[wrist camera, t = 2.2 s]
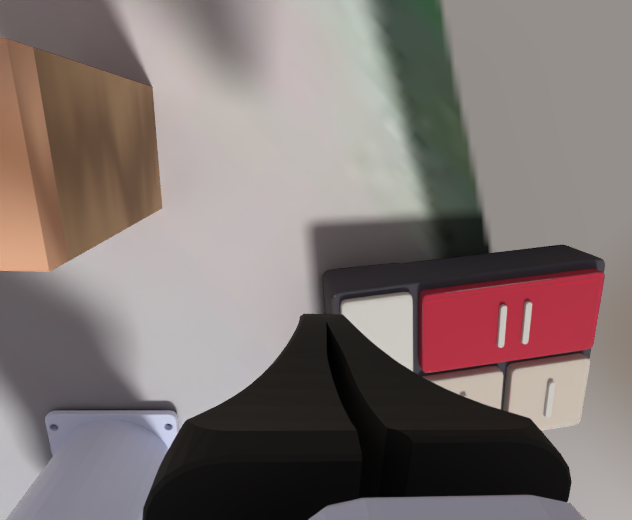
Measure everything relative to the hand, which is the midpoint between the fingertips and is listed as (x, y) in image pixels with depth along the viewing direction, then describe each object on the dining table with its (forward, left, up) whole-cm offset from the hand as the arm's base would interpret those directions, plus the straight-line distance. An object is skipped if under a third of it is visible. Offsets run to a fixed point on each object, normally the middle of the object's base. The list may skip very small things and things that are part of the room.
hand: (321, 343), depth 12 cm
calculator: (-6, -9, -11) cm, 15 cm away
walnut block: (+5, +10, -10) cm, 15 cm away
